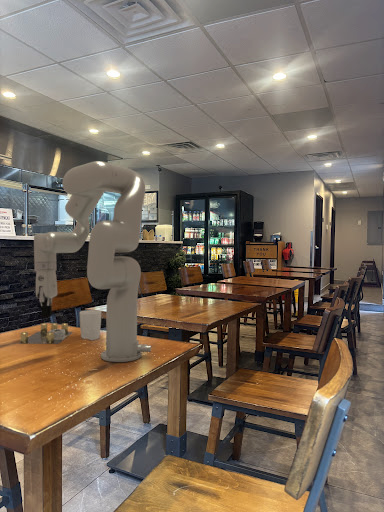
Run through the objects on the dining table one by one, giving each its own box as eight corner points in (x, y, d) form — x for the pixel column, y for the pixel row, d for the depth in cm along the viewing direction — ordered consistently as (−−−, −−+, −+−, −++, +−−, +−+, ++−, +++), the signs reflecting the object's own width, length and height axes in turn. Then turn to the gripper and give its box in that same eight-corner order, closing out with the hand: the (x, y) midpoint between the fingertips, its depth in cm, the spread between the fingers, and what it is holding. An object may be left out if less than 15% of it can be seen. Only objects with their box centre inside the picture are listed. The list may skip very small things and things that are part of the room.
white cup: (98, 341, 135) (98, 314, 135) (76, 340, 135) (76, 313, 135) (103, 336, 143) (103, 310, 143) (83, 335, 143) (83, 309, 143)
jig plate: (73, 333, 147) (73, 323, 146) (59, 345, 129) (59, 333, 128) (37, 333, 146) (37, 322, 146) (18, 345, 128) (18, 333, 128)
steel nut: (66, 335, 140) (66, 328, 140) (61, 339, 135) (61, 332, 135) (52, 335, 140) (52, 328, 140) (47, 339, 134) (47, 332, 134)
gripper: (48, 267, 129) (50, 319, 129) (62, 266, 144) (63, 313, 144) (27, 268, 129) (28, 320, 129) (42, 266, 144) (43, 313, 144)
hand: (46, 316), depth 136 cm, fingers closed
